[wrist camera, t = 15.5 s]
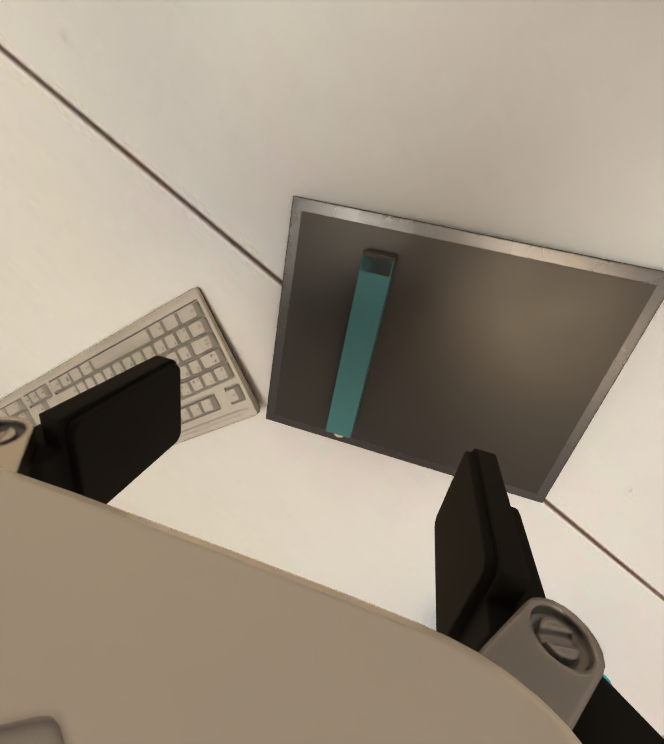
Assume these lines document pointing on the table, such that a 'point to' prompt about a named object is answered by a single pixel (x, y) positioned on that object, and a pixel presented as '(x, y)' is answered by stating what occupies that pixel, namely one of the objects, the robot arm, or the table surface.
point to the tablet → (456, 341)
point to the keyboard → (141, 342)
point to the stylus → (360, 339)
